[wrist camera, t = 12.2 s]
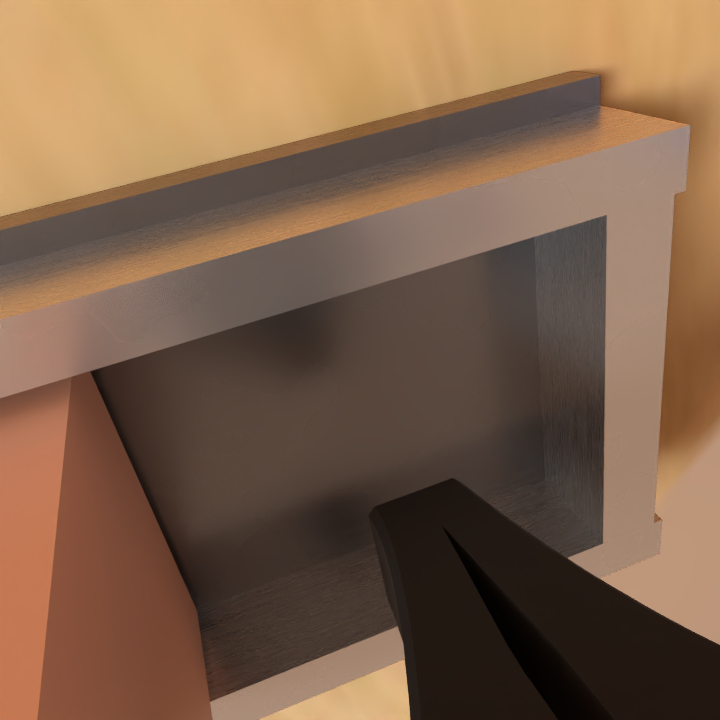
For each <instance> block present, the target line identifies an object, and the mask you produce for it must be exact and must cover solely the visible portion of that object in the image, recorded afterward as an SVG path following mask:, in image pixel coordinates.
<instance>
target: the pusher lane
mask: <svg viewBox="0 0 720 720" xmlns="http://www.w3.org/2000/svg"><path fill="white" fill-rule="evenodd" d="M689 139H690V125H688V124H684V123H679V122H674V121H670V120H665V119H661V118H656V117H652V116H647V115H642V114H638V113H633V112H629V111H624V110H620V109H615V108H610V107H606V106H601V105H600V75H598V74H591V73H585V72H578V71H571V72H567V73H563V74H559V75H555V76H551V77H547V78H543V79H539V80H535V81H531V82H528V83H524V84H520V85H516V86H512V87H508V88H504V89H500V90H496V91H492V92H488V93H484V94H481V95H477V96H473V97H469V98H465V99H461V100H457V101H453V102H449V103H445V104H441V105H438V106H434V107H430V108H426V109H422V110H418V111H414V112H410V113H406V114H402V115H398V116H394V117H391V118H387V119H383V120H379V121H375V122H371V123H367V124H363V125H359V126H355V127H351V128H347V129H344V130H340V131H336V132H332V133H328V134H324V135H320V136H316V137H312V138H308V139H304V140H301V141H297V142H293V143H289V144H285V145H281V146H277V147H273V148H269V149H265V150H261V151H257V152H254V153H250V154H246V155H242V156H238V157H234V158H230V159H226V160H222V161H218V162H214V163H210V164H207V165H203V166H199V167H195V168H191V169H187V170H183V171H179V172H175V173H171V174H167V175H163V176H160V177H156V178H152V179H148V180H144V181H140V182H136V183H132V184H128V185H124V186H120V187H117V188H113V189H109V190H105V191H101V192H97V193H93V194H89V195H85V196H81V197H77V198H73V199H70V200H66V201H62V202H58V203H54V204H50V205H46V206H42V207H38V208H34V209H30V210H26V211H23V212H19V213H15V214H11V215H7V216H3V217H0V398H3V397H6V396H9V395H13V394H16V393H19V392H22V391H26V390H29V389H32V388H36V387H39V386H42V385H46V384H49V383H52V382H56V381H59V380H62V379H65V378H69V377H72V376H75V375H79V374H82V373H85V372H89V371H90V372H91V374H92V377H93V379H94V381H95V383H96V386H97V388H98V390H99V392H100V395H101V397H102V399H103V401H104V403H105V406H106V408H107V410H108V412H109V415H110V417H111V419H112V421H113V424H114V426H115V428H116V430H117V433H118V435H119V437H120V439H121V442H122V444H123V446H124V448H125V450H126V453H127V455H128V457H129V459H130V462H131V464H132V466H133V468H134V471H135V473H136V475H137V477H138V480H139V482H140V484H141V486H142V489H143V491H144V493H145V495H146V498H147V500H148V502H149V504H150V506H151V509H152V511H153V513H154V515H155V518H156V520H157V522H158V524H159V527H160V529H161V531H162V533H163V536H164V538H165V540H166V542H167V545H168V547H169V549H170V551H171V554H172V556H173V558H174V560H175V562H176V565H177V567H178V569H179V571H180V574H181V576H182V578H183V580H184V583H185V585H186V587H187V589H188V592H189V594H190V596H191V598H192V601H193V603H194V605H195V607H196V609H197V614H198V621H199V628H200V635H201V642H202V649H203V656H204V663H205V670H206V677H207V684H208V691H209V698H210V705H211V712H212V719H213V720H258V719H261V718H263V717H266V716H268V715H270V714H273V713H275V712H278V711H280V710H283V709H285V708H287V707H290V706H292V705H295V704H297V703H300V702H302V701H304V700H307V699H309V698H312V697H314V696H316V695H319V694H321V693H324V692H326V691H329V690H331V689H333V688H336V687H338V686H341V685H343V684H346V683H348V682H350V681H353V680H355V679H358V678H360V677H363V676H365V675H367V674H370V673H372V672H375V671H377V670H379V669H382V668H384V667H387V666H389V665H392V664H394V663H396V662H399V661H401V660H404V659H405V655H404V646H403V641H402V638H401V635H400V632H399V629H398V626H397V623H396V620H395V617H394V615H393V612H392V610H391V607H390V604H389V602H388V599H387V594H386V590H385V586H384V581H383V577H382V572H381V568H380V564H379V559H378V555H377V550H376V546H375V542H374V537H373V533H372V529H371V524H370V520H369V514H370V512H371V511H372V510H373V508H374V507H375V506H377V505H380V504H383V503H386V502H388V501H391V500H394V499H397V498H399V497H402V496H405V495H407V494H410V493H413V492H416V491H418V490H421V489H424V488H426V487H429V486H432V485H435V484H437V483H440V482H443V481H446V480H448V479H451V478H454V479H456V480H458V481H460V482H461V483H462V484H464V485H465V486H466V487H468V488H469V489H470V490H472V491H473V492H474V493H475V494H477V495H478V496H479V497H481V498H482V499H483V500H485V501H486V502H487V503H489V504H490V505H491V506H493V507H494V508H495V509H497V510H498V511H500V512H501V513H502V514H504V515H505V516H506V517H508V518H509V519H511V520H512V521H513V522H515V523H516V524H518V525H519V526H520V527H522V528H523V529H525V530H526V531H527V532H529V533H530V534H532V535H533V536H535V537H536V538H538V539H539V540H541V541H542V542H543V543H545V544H546V545H548V546H549V547H551V548H553V549H554V550H556V551H557V552H559V553H560V554H562V555H563V556H565V557H566V558H568V559H569V560H571V561H572V562H574V563H575V564H577V565H579V566H580V567H582V568H583V569H585V570H586V571H588V572H589V573H591V574H593V575H594V576H596V577H598V578H599V579H600V578H602V577H605V576H607V575H610V574H612V573H614V572H617V571H619V570H622V569H624V568H626V567H629V566H631V565H634V564H636V563H638V562H641V561H643V560H646V559H648V558H651V557H653V556H655V555H658V554H660V544H661V529H662V519H661V518H660V517H659V516H658V515H657V514H656V513H655V498H656V482H657V466H658V451H659V435H660V419H661V403H662V388H663V372H664V356H665V340H666V324H667V309H668V293H669V277H670V261H671V245H672V230H673V214H674V198H675V194H677V193H681V192H684V191H686V181H687V167H688V153H689Z"/></svg>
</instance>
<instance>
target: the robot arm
mask: <svg viewBox="0 0 720 720" xmlns="http://www.w3.org/2000/svg"><path fill="white" fill-rule="evenodd" d="M369 520H370V524H371V529H372V533H373V537H374V542H375V546H376V550H377V555H378V559H379V564H380V568H381V572H382V577H383V581H384V586H385V590H386V594H387V599H388V602H389V604H390V607H391V610H392V612H393V615H394V617H395V620H396V623H397V626H398V629H399V632H400V635H401V638H402V641H403V646H404V655H405V665H406V674H407V684H408V693H409V705H410V719H411V720H720V645H719V644H717V643H715V642H713V641H710V640H708V639H707V638H705V637H703V636H701V635H699V634H697V633H695V632H692V631H691V630H689V629H687V628H685V627H683V626H681V625H679V624H678V623H676V622H674V621H672V620H670V619H668V618H666V617H665V616H663V615H661V614H659V613H657V612H655V611H654V610H652V609H650V608H648V607H646V606H645V605H643V604H641V603H640V602H638V601H636V600H634V599H633V598H631V597H629V596H628V595H626V594H624V593H623V592H621V591H619V590H617V589H616V588H614V587H612V586H611V585H609V584H607V583H606V582H604V581H602V580H601V579H599V578H598V577H596V576H594V575H593V574H591V573H589V572H588V571H586V570H585V569H583V568H582V567H580V566H579V565H577V564H575V563H574V562H572V561H571V560H569V559H568V558H566V557H565V556H563V555H562V554H560V553H559V552H557V551H556V550H554V549H553V548H551V547H549V546H548V545H546V544H545V543H543V542H542V541H541V540H539V539H538V538H536V537H535V536H533V535H532V534H530V533H529V532H527V531H526V530H525V529H523V528H522V527H520V526H519V525H518V524H516V523H515V522H513V521H512V520H511V519H509V518H508V517H506V516H505V515H504V514H502V513H501V512H500V511H498V510H497V509H495V508H494V507H493V506H491V505H490V504H489V503H487V502H486V501H485V500H483V499H482V498H481V497H479V496H478V495H477V494H475V493H474V492H473V491H472V490H470V489H469V488H468V487H466V486H465V485H464V484H462V483H461V482H460V481H458V480H456V479H454V478H451V479H448V480H446V481H443V482H440V483H437V484H435V485H432V486H429V487H426V488H424V489H421V490H418V491H416V492H413V493H410V494H407V495H405V496H402V497H399V498H397V499H394V500H391V501H388V502H386V503H383V504H380V505H377V506H375V507H374V508H373V510H372V511H371V512H370V514H369Z"/></svg>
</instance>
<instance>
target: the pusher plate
mask: <svg viewBox="0 0 720 720" xmlns="http://www.w3.org/2000/svg"><path fill="white" fill-rule="evenodd" d="M0 720H213V719H212V712H211V705H210V698H209V691H208V684H207V677H206V670H205V663H204V656H203V649H202V642H201V635H200V628H199V621H198V614H197V609H196V607H195V605H194V603H193V601H192V598H191V596H190V594H189V592H188V589H187V587H186V585H185V583H184V580H183V578H182V576H181V574H180V571H179V569H178V567H177V565H176V562H175V560H174V558H173V556H172V554H171V551H170V549H169V547H168V545H167V542H166V540H165V538H164V536H163V533H162V531H161V529H160V527H159V524H158V522H157V520H156V518H155V515H154V513H153V511H152V509H151V506H150V504H149V502H148V500H147V498H146V495H145V493H144V491H143V489H142V486H141V484H140V482H139V480H138V477H137V475H136V473H135V471H134V468H133V466H132V464H131V462H130V459H129V457H128V455H127V453H126V450H125V448H124V446H123V444H122V442H121V439H120V437H119V435H118V433H117V430H116V428H115V426H114V424H113V421H112V419H111V417H110V415H109V412H108V410H107V408H106V406H105V403H104V401H103V399H102V397H101V395H100V392H99V390H98V388H97V386H96V383H95V381H94V379H93V377H92V374H91V372H90V371H89V372H85V373H82V374H79V375H75V376H72V377H69V378H65V379H62V380H59V381H56V382H52V383H49V384H46V385H42V386H39V387H36V388H32V389H29V390H26V391H22V392H19V393H16V394H13V395H9V396H6V397H3V398H0Z"/></svg>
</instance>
